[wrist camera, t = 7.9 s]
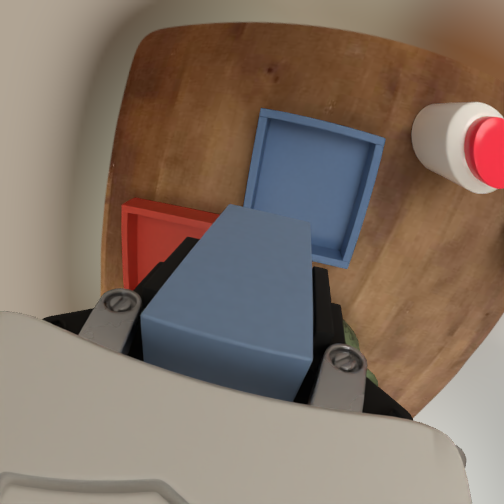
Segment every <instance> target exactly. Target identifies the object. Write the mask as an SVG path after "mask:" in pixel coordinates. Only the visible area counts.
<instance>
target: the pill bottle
mask: <svg viewBox="0 0 504 504" xmlns="http://www.w3.org/2000/svg"><path fill="white" fill-rule="evenodd" d="M411 136H412V145H413V149H414V151H415V154H416V156H417V157H418V159H419V161H420V162H421V163H422V164H423V165H424V166H425V167H426V168H427V169H429V170H430V171H432V172H434V173H436V174H438V175H440V176H442V177H444V178H446V179H448V180H450V181H452V182H454V183H456V184H458V185H460V186H462V187H464V188H465V189H467V190H469V191H471V192H474V193H478V194H486V193H490V192H493V191H495V190H497V189H502V188H504V118H503V116H502V115H501V114H500V113H499V112H498V111H497V110H495V109H494V108H493V107H491V106H489V105H487V104H485V103H480V102H453V103H436V104H431V105H429V106H426V107H425V108H423V109H422V110H421V111H420V112H419V113H418V115H417V116H416V118H415V120H414V123H413V126H412V133H411Z"/></svg>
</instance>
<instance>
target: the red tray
mask: <svg viewBox="0 0 504 504" xmlns="http://www.w3.org/2000/svg"><path fill="white" fill-rule="evenodd" d="M219 216H220V214H215V213H210V212H205V211H200V210H196V209H191V208H186V207H181V206H176V205H171V204H166V203H161V202H156V201H151V200H145V199H140V198H133V199H131V200H129V201H127V202H126V203H124V204H122V262H123V281H124V289H129V290H132V291H133V290H134V289H135V288H136V287H137V285H138V284H139V283H140V282H141V281H142V280H143V279H144V278H145V277H146V276H147V274H148V273H149V272H150V271H151V270H152V269H153V268H154V267H155V266H156V265H157V264H158V263H159V262H164V261H165V260H166V259H167V258H168V257H169V256H170V255H171V254H172V253H173V251H174V250H175V249H176V248H177V247H178V246H179V245H180V244H181V243H182V242H183V241H184V239H185V238H186V237H193V238H197V239H201V237H202V236H203V235H204V234H205V233H206V231H207V230H208V229H209V228H210V226H211V225H212V224H213V223H214V222H215V221H216V219H217V218H218V217H219Z"/></svg>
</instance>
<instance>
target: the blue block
mask: <svg viewBox="0 0 504 504" xmlns="http://www.w3.org/2000/svg"><path fill="white" fill-rule="evenodd" d="M141 334H142V347H143V358H144V362H146V363H149V364H152V365H155V366H158V367H160V368H163V369H166V370H169V371H173V372H176V373H179V374H182V375H185V376H188V377H192V378H195V379H198V380H202V381H205V382H209V383H212V384H216V385H220V386H224V387H227V388H231V389H235V390H239V391H243V392H248V393H252V394H256V395H261V396H265V397H270V398H274V399H279V400H284V401H289V402H293V400H294V398H295V396H296V394H297V392H298V390H299V388H300V386H301V384H302V382H303V380H304V378H305V376H306V374H307V372H308V369H309V367H310V365H311V363H312V361H313V285H312V252H311V229H310V223H309V222H306V221H302V220H298V219H294V218H289V217H285V216H281V215H277V214H272V213H268V212H264V211H259V210H255V209H250V208H246V207H241V206H237V205H232V204H229V205H228V206H227V207H226V209H225V210H224V211H223V212H222V213H221V215H220V216H219V217H218V218H217V219H216V221H215V222H214V223H213V224H212V225H211V226H210V228H209V229H208V230H207V231H206V233H205V234H204V235H203V236H202V237H201V239H200V240H199V241H198V242H197V243H196V245H195V246H194V247H193V248H192V250H191V251H190V252H189V253H188V255H187V256H186V257H185V258H184V260H183V261H182V262H181V263H180V265H179V266H178V267H177V268H176V270H175V271H174V272H173V273H172V275H171V276H170V277H169V278H168V280H167V281H166V282H165V283H164V285H163V286H162V287H161V289H160V290H159V291H158V292H157V294H156V295H155V296H154V298H153V299H152V300H151V302H150V303H149V304H148V305H147V307H146V308H145V309H144V311H143V312H142V313H141Z"/></svg>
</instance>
